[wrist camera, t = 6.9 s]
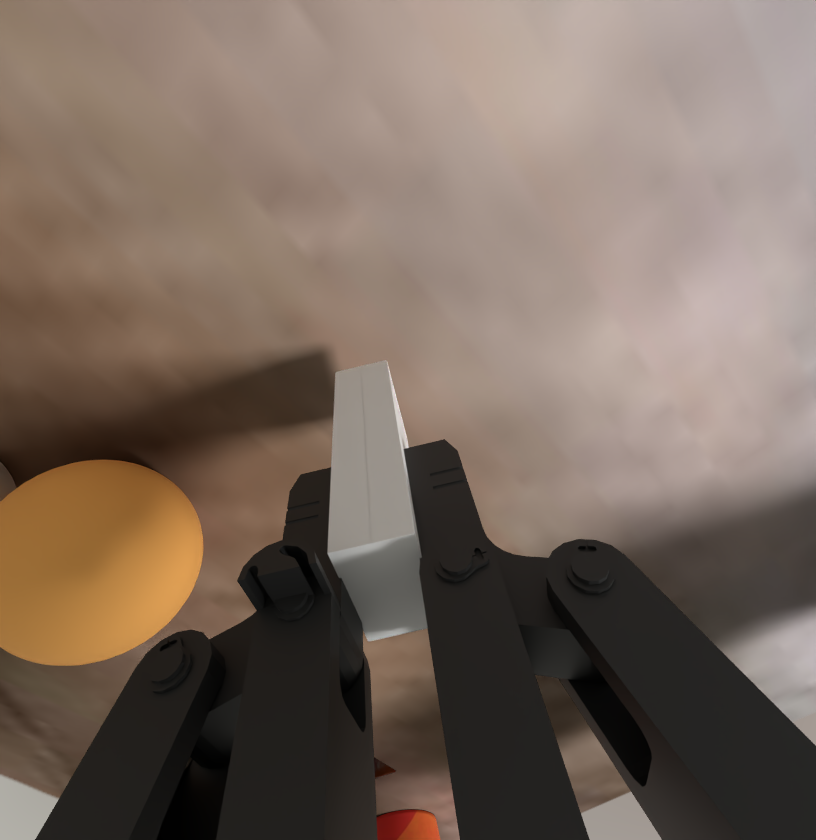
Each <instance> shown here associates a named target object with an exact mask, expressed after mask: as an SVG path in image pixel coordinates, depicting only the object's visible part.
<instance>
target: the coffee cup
mask: <svg viewBox="0 0 816 840" xmlns="http://www.w3.org/2000/svg"><path fill="white" fill-rule="evenodd" d="M377 839H378V840H440V837H439V831H438V827H437V822H436V818H435V816H434V815H433V814H432V813H430V812H427V811H423V810H401V811H395V812H390V813H386V814H383V815H380V816H378V817H377Z"/></svg>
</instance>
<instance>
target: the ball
mask: <svg viewBox="0 0 816 840" xmlns="http://www.w3.org/2000/svg"><path fill="white" fill-rule="evenodd" d="M202 557H203V535H202V530H201V525H200V521H199V519H198V516H197V513H196V511H195V509H194V507H193V506H192V504H191V502H190V500H189V499H188V498H187V497H186V495H185V494H184V493H183V492H182V490H181V489H179V488H178V487H177V486H176V485H175V484H174V483H173V482H172V481H170V480H169V479H168V478H166V477H164V476H163V475H161V474H159V473H158V472H156V471H154V470H151V469H149V468H146V467H144V466H141V465H138V464H135V463H130V462H124V461H118V460H88V461H81V462H76V463H71V464H67V465H64V466H60V467H57V468H54V469H51V470H49V471H46V472H44V473H42V474H39V475H37V476H36V477H34V478H32V479H30V480H28V481H27V482H25V483H23V484H22V485H20V486H19V487H18V488H16V489H15V490H14V491H12V492H11V493H9V494H8V495H7V496H6V497H5V498H4V499H3V500H2V501H1V502H0V647H1V648H2V649H4V650H5V651H7V652H9V653H11V654H12V655H15V656H17V657H19V658H22V659H25V660H28V661H31V662H35V663H40V664H45V665H55V666H74V665H84V664H89V663H94V662H99V661H103V660H106V659H109V658H112V657H115V656H117V655H120V654H123V653H125V652H127V651H129V650H131V649H133V648H134V647H136V646H138V645H140V644H142V643H143V642H145V641H146V640H148V639H149V638H151V637H152V636H154V635H155V634H156V633H157V632H159V631H160V630H161V629H162V628H163V627H164V626H165V625H167V624H168V623H169V622H170V620H171V619H172V618H173V617H174V616H175V615H176V614H177V613H178V611H179V610H180V609H181V607H182V606H183V604H184V603H185V602H186V600H187V599H188V597H189V595H190V593H191V591H192V590H193V588H194V586H195V583H196V580H197V578H198V575H199V571H200V567H201V563H202Z"/></svg>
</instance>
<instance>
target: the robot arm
mask: <svg viewBox="0 0 816 840" xmlns="http://www.w3.org/2000/svg"><path fill="white" fill-rule="evenodd" d="M287 509H288V511H287V514H286V520H285V523H286V526H285V527H284V534H283V540H281V541H279V542H276V543H274V544H271V545H268V546H266V547H265V548H263V549H262V550H261V551H259V552H258V553H256V554H255V555H253V557H252V558H251V559H250V560H249V561H248V562H247V564H246V565H245V566H244V567H243V569H242V571H241V573H240V576H239V578H238V580H237V581H238V583H239V584H240V586H241V587H242V589H243V590H244V592H245V593H246V595H247V596H248V598H249V599H250V601H251V602H252V604H253V605H254V607H255V608H256V610H257V611H256V612H255V613H254V614H253V615H252V616H250V617H249V618H247V619H246V620H244V621H243V622H241V623H239V624H238V625H236V626H234V627H232V628H230V629H228V630H226V631H224V632H223V633H221V634H219V635H217V636H215V637H213V638H211V639H208V638H207V637H206V636H205V634H204V633H203V632H199V631H195V630H187V631H181V632H177V633H175V634H173V635H171V636H169V637H167V638H165V639H163V640H161V641H160V642H159V643H158V644H157V645H156V646H154V647H153V648H152V649H151V650H150V651H149V652H147V654H146V655H145V656H144V658H143V659H142V660H141V662H140V663H139V664H138V666H137V667H136V668H135V670H134V672H133V673H132V675H131V677H130V679H129V680H128V682H127V684H126V685H125V687H124V689H123V691H122V692H121V694H120V696H119V697H118V699H117V701H116V703H115V704H114V706H113V708H112V709H111V711H110V713H109V715H108V716H107V718H106V720H105V721H104V723H103V725H102V726H101V728H100V730H99V732H98V733H97V735H96V737H95V738H94V740H93V742H92V744H91V745H90V747H89V749H88V750H87V752H86V754H85V756H84V757H83V759H82V761H81V762H80V764H79V766H78V768H77V769H76V771H75V773H74V774H73V776H72V778H71V779H70V781H69V783H68V785H67V786H66V788H65V790H64V791H63V793H62V795H61V797H60V798H59V800H58V802H57V803H56V805H55V807H54V809H53V810H52V812H51V814H50V815H49V817H48V819H47V821H46V822H45V824H44V826H43V828H42V829H41V831H40V833H39V834H38V836H37V838H36V839H35V840H378V839H377V816H376V794H375V771H374V748H373V726H372V703H371V680H370V669H369V665H368V661H367V658H366V656H365V654H364V652H363V631H364V633H365V635H366V637H367V640H368V642H369V641H373V640H377V639H382V638H386V637H391V636H395V635H400V634H404V633H409V632H413V631H417V630H422V629H426V628H428V634H429V640H430V647H431V653H432V660H433V666H434V673H435V679H436V686H437V692H438V699H439V705H440V712H441V718H442V725H443V731H444V738H445V744H446V751H447V757H448V764H449V770H450V777H451V783H452V790H453V796H454V803H455V810H456V816H457V823H458V829H459V836H460V840H589V837H588V834H587V831H586V828H585V825H584V822H583V819H582V816H581V813H580V810H579V807H578V804H577V801H576V798H575V795H574V792H573V789H572V786H571V783H570V780H569V777H568V774H567V770H566V767H565V764H564V761H563V758H562V755H561V752H560V749H559V746H558V743H557V740H556V737H555V734H554V731H553V728H552V725H551V722H550V719H549V716H548V713H547V710H546V707H545V704H544V701H543V698H542V695H541V692H540V689H539V686H538V683H537V680H536V677H535V675H540V676H548V677H555V678H559V680H560V681H561V683H562V685H563V686H564V688H565V689H566V691H567V692H568V694H569V695H570V697H571V699H572V700H573V702H574V703H575V705H576V706H577V708H578V709H579V711H580V713H581V714H582V716H583V717H584V719H585V720H586V722H587V723H588V725H589V727H590V728H591V730H592V731H593V733H594V734H595V736H596V737H597V739H598V741H599V742H600V744H601V745H602V747H603V748H604V750H605V751H606V753H607V755H608V756H609V758H610V759H611V761H612V762H613V764H614V765H615V767H616V769H617V770H618V772H619V773H620V775H621V776H622V778H623V779H624V781H625V783H626V784H627V786H628V787H629V789H630V790H631V792H632V793H633V795H634V796H635V798H636V800H637V801H638V802H639V804H640V806H641V807H642V809H643V810H644V812H645V814H646V815H647V817H648V818H649V820H650V821H651V823H652V825H653V826H654V828H655V829H656V831H657V832H658V834H659V835H660V837H661V839H662V840H816V746H815V745H814V744H813V743H812V742H811V741H810V740H809V739H808V738H807V737H806V736H805V735H804V734H803V733H802V732H801V731H800V730H799V729H798V728H797V727H796V726H795V725H794V724H793V723H792V722H791V721H790V720H789V719H788V718H787V717H786V716H785V715H784V714H783V713H782V712H781V711H780V710H779V709H778V708H777V707H776V706H775V705H774V704H773V703H772V702H771V701H770V700H769V699H768V698H767V697H766V696H765V695H764V694H763V693H762V692H761V691H760V690H759V689H758V688H757V687H756V686H755V685H754V684H753V683H752V682H751V681H750V680H749V679H748V678H747V677H746V676H745V675H744V674H743V673H742V672H741V671H740V670H739V669H738V668H737V667H736V666H735V665H734V664H733V663H732V662H731V661H730V660H729V659H728V658H727V657H726V656H725V655H724V654H723V653H722V652H721V651H720V650H719V649H718V648H717V647H716V646H715V645H714V644H713V643H712V642H711V641H710V640H709V639H708V638H707V637H706V636H705V635H704V634H703V633H702V632H701V631H700V630H699V629H698V628H697V627H696V626H695V625H694V624H693V623H692V622H691V621H690V620H689V619H688V618H687V617H686V616H685V615H684V614H683V613H682V612H681V611H680V610H679V609H678V608H677V607H676V606H675V605H674V604H673V603H672V602H671V601H670V600H669V599H668V598H667V597H666V596H665V595H664V594H663V593H662V592H661V591H660V590H659V589H658V588H657V587H656V586H655V585H654V584H653V583H652V582H651V581H650V580H649V579H648V578H647V577H646V576H645V575H644V574H643V573H642V572H641V571H640V570H639V569H638V568H637V567H636V566H635V565H634V564H633V563H632V562H631V561H630V560H629V559H628V558H627V557H626V556H625V555H624V554H623V553H621V552H620V551H618V550H617V549H616V548H614V547H613V546H611V545H608V544H606V543H603V542H600V541H597V540H585V539H578V540H574V541H570V542H566V543H563V544H562V545H561V546H559V547H558V548H556V549H555V550H554V551H552V553H551V555H550V557H549V558H543V557H526V556H520V555H514V554H511V553H508V552H506V551H503V550H501V549H500V548H498V547H497V546H495V545H494V544H493V543H492V542H491V541H490V540H489V539H488V538H487V536H486V534H485V532H484V530H483V527H482V524H481V521H480V518H479V515H478V512H477V509H476V506H475V503H474V500H473V497H472V494H471V491H470V488H469V485H468V482H467V478H466V475H465V472H464V469H463V466H462V463H461V460H460V457H459V454H458V451H457V450H456V449H455V448H454V447H453V446H451V445H450V444H449V443H448V442H447V441H446V440H445V439H444V440H440V441H436V442H431V443H427V444H423V445H419V446H414V447H410V448H409V447H408V441H407V436H406V432H405V428H404V424H403V420H402V416H401V413H400V409H399V405H398V401H397V397H396V393H395V390H394V386H393V382H392V378H391V374H390V370H389V367H388V363H387V360H384V361H380V362H375V363H371V364H367V365H363V366H359V367H354V368H350V369H346V370H342V371H338V372H336V373H335V395H334V417H333V440H332V462H331V468H327V469H322V470H318V471H314V472H310V473H305V474H301V475H300V476H299V478H298V479H297V481H296V483H295V484H294V486H293V487H292V489H291V490H290V494H289V501H288V507H287ZM362 629H363V630H362Z"/></svg>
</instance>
